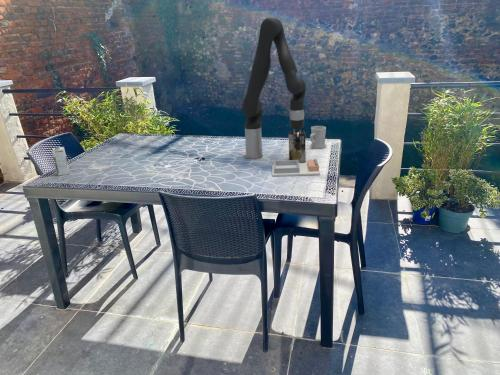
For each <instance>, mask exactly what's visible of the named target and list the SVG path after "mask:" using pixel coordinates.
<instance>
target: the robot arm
mask: <svg viewBox="0 0 500 375" xmlns="http://www.w3.org/2000/svg"><path fill="white" fill-rule="evenodd" d="M284 30H285V29H284V27H283V23H282V22H281V20H280V19H278V18H277V17H267V18H265V19H263V20H262V22H261V23H260V28H259V32H258V33H259V34H258V41H257V48H256V51H255V55H254V59H253V62H252V67H251V70H250V71H251V72H250V77H249V80H248V86H247V90H246V93H245V97H244V99H243V102H242V106H241V110H242V112H241V113H242V114H243V115H244V116H245V117H246V118H245V122H244V137H245V139H244V140H245V158H246V159H251V160H256V159H257V160H258V159H261V158H262V157H263V140H262V138H263V137H262V121H263V107H262V106H263V105H262V102H261V100H260V97H261V93H262V90H263V88H264V86H265V84H266V82H267V81H268V78H269V74H270V71H271V64H272V61H271V59H272V58H271V55H272V54H271V50H272V45H273V43H274V45H275V49H276V52H277V59H278V63H279V65H280V69H281V71H282V72H283V75H284V80H285V84H286V86H285V87H286V89H287V90H288V92H289V93H290V94H292V97H291V99H290V101H289V109H290V110H289V128H291V129H293V132H294V134H295V137H294V139H295V146H296V151H298V150H300V139H301V137H300V134H301V131H302V128H304V127H305V110H304V107H305V105H304V101H305V96H306V91H307V90H306V88H307V87H306V81H304V79H303V78H298V76H297V73H298V69H297V65H296V64H295V61H294V59H293V56H292V54H291V51H290V49H289V45H288V43H287V38H286V36H285V31H284ZM297 139H299V141H296V140H297Z"/></svg>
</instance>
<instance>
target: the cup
mask: <svg viewBox="0 0 500 375" xmlns="http://www.w3.org/2000/svg"><path fill="white" fill-rule="evenodd" d="M310 130H311V134H309V140H310V142H311V144H310V147H311V148H312V149H314V150H322V149H326V132H327V127H326V126H323V125H314V126H310Z"/></svg>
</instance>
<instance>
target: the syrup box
mask: <svg viewBox="0 0 500 375" xmlns="http://www.w3.org/2000/svg"><path fill="white" fill-rule="evenodd" d="M51 152H52V157H53V162H54V165H55V170H56V173H57V176H58V177H59V176H65V175H70V168H69V164H68V159H67V155H66V150H65V146H59V147H53V148H52V150H51Z"/></svg>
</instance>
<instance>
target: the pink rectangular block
mask: <svg viewBox="0 0 500 375" xmlns="http://www.w3.org/2000/svg"><path fill="white" fill-rule="evenodd" d="M306 163H307V166H308V170H309V171H319V172H320V166H319V162H318V160H317V158H314V159H307V160H306Z"/></svg>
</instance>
